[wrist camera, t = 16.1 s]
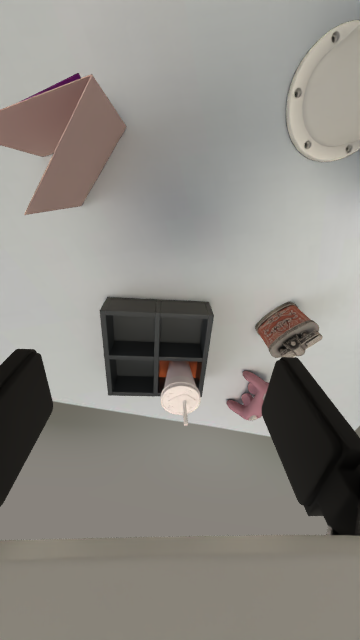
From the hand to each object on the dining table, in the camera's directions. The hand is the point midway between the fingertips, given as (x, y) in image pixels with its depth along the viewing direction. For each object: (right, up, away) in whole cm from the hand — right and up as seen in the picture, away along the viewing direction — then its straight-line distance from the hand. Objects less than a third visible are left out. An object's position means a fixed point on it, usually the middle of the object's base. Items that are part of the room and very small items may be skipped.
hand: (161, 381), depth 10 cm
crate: (-3, -2, +35) cm, 35 cm away
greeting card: (-11, +23, +22) cm, 33 cm away
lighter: (+18, +3, +34) cm, 38 cm away
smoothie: (0, -6, +37) cm, 37 cm away
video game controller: (+15, -12, +42) cm, 46 cm away
